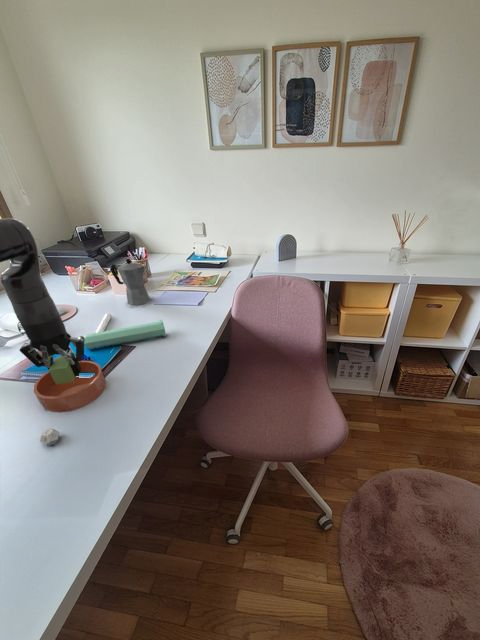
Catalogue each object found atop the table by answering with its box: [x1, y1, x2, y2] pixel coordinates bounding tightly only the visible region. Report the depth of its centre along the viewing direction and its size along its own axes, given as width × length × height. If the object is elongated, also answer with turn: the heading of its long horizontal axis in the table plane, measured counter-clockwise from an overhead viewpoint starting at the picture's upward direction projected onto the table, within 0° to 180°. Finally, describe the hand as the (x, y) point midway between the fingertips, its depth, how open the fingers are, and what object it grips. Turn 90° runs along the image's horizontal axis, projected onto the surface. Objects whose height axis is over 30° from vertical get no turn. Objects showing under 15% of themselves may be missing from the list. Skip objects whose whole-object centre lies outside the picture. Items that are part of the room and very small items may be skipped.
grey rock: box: [39, 427, 60, 446], centre depth 65 cm, size 4×4×3 cm
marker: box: [95, 312, 112, 333], centre depth 109 cm, size 18×2×2 cm, turn 11°
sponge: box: [48, 355, 76, 384], centre depth 76 cm, size 4×6×4 cm, turn 13°
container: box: [83, 319, 167, 351], centre depth 99 cm, size 6×6×25 cm
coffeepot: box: [109, 258, 150, 306], centre depth 123 cm, size 15×9×18 cm, turn 82°
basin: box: [33, 360, 107, 413], centre depth 79 cm, size 15×15×4 cm
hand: (67, 375), depth 77 cm, fingers closed on sponge, 4 cm apart
